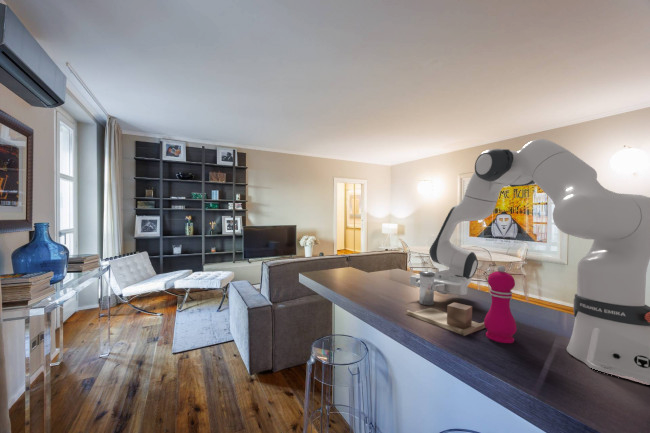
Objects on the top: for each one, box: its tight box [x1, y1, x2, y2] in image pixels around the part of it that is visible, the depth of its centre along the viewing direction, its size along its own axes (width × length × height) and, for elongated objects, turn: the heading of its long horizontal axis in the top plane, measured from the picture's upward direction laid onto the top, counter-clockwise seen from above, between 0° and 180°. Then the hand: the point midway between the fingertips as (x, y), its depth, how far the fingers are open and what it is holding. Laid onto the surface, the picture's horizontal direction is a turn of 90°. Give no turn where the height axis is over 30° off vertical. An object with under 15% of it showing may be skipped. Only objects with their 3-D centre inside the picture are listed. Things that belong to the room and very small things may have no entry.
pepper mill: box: [483, 265, 518, 344], centre depth 72 cm, size 7×7×20 cm
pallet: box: [405, 307, 486, 336], centre depth 84 cm, size 19×13×2 cm
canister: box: [418, 270, 436, 306], centre depth 99 cm, size 5×5×11 cm
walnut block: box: [446, 301, 473, 330], centre depth 79 cm, size 5×5×6 cm
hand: (425, 286), depth 99 cm, fingers closed on canister, 5 cm apart
